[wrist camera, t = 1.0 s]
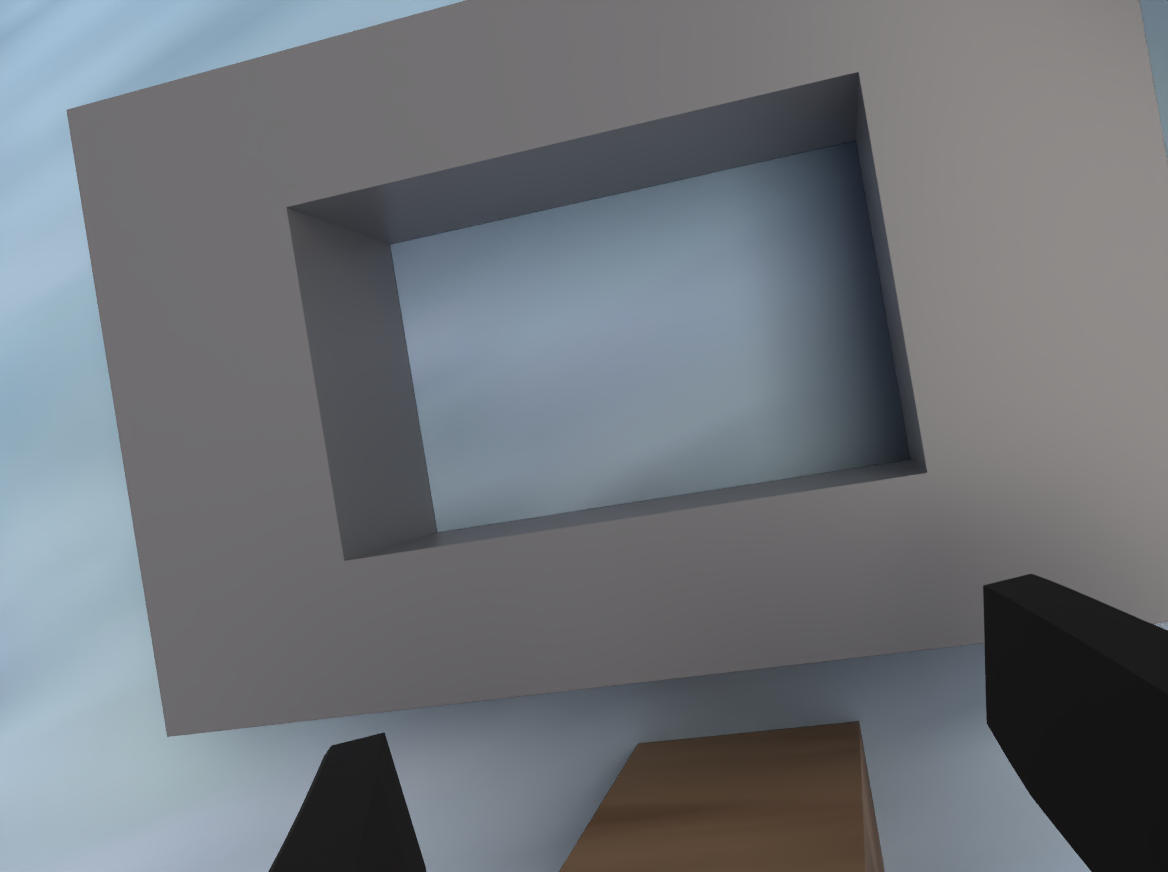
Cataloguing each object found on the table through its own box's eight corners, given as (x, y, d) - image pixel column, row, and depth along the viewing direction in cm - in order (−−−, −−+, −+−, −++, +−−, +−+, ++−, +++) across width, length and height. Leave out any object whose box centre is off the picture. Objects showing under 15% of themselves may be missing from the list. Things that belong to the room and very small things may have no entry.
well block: (1160, 568, 23) (1246, 613, 18) (288, 678, 27) (167, 736, 22) (1052, -51, 23) (1107, -176, 18) (204, 162, 27) (66, 109, 23)
